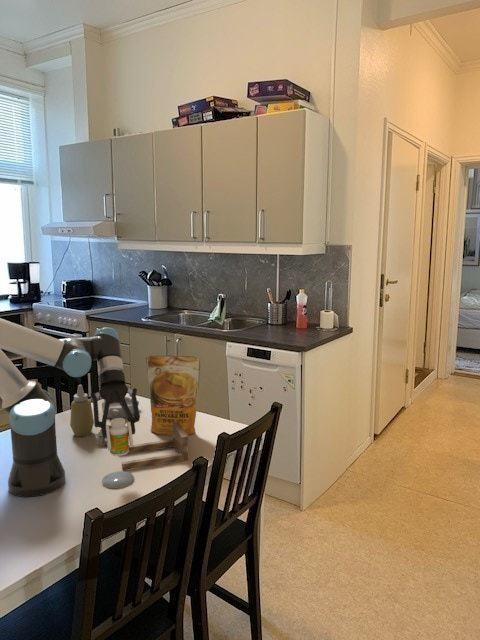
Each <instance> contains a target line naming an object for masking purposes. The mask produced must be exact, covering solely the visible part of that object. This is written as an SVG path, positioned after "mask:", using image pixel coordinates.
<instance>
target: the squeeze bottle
mask: <svg viewBox="0 0 480 640" xmlns="http://www.w3.org/2000/svg"><path fill="white" fill-rule="evenodd" d="M88 397H89V396H88V393H85V391H84V388H83V385H82V384H78V385H77V392H76V393H75V394H74V395H73V401H72V402H71V404H70V421H69V422H70V424H69V425H70V428H71V431H72V432H73V435H74V436H76V437H86V436H89V435H91V433H92V431H93V427H94V412H93V408H92V400H91V399H88Z"/></svg>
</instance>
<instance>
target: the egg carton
mask: <svg viewBox="0 0 480 640" xmlns="http://www.w3.org/2000/svg"><path fill="white" fill-rule="evenodd" d="M106 425H109V424H107V423H106ZM111 427H112V426H111V424H110V425H109V429H110V428H111ZM95 438H96V441H97V444H98V445H99V446H104V445H107V438H105V439H103V437H102V429H101V428H100V430H99V431H98V433H96V435H95Z"/></svg>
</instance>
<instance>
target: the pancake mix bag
mask: <svg viewBox="0 0 480 640" xmlns="http://www.w3.org/2000/svg"><path fill="white" fill-rule="evenodd" d="M145 361H146V362H145V363H146V373H147V384H148V395H149V401H150V413H151V427H150V432H153V433H155V434H157V435H165V436H173V422H179V423H180V425H181V426H182V428H183V429H184V431H185V433H186V434H187V436H190V435H192V434H194V435H195V434H196V428H195V423H196V417H197V406H198V400H199V399H198V398H199V390H200V373H201V372H200V371H201V362H200V361H201V360H200V359H199V358H197V356H191V355H190V356H189V355H188V356H187V355H186V356H184V355H183V356H181V355H178V356H177V355H149V356H148V357H145Z"/></svg>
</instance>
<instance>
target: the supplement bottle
mask: <svg viewBox="0 0 480 640" xmlns="http://www.w3.org/2000/svg"><path fill="white" fill-rule="evenodd" d="M110 426H112V427H111V428H110V429H109V433H110V441H111V450H109V453H110V454H111V456H116V457H121V456H125V455H127V454H129V453H128V452H129V445H130V443H129V436H128V427H127V425H126V418H115V419H110Z"/></svg>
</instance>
